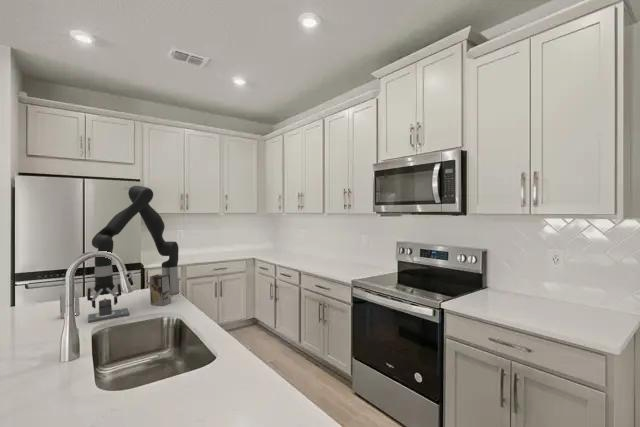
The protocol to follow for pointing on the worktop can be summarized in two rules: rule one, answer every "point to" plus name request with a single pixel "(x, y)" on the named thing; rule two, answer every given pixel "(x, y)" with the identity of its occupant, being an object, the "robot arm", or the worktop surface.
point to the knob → (105, 307)
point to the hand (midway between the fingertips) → (105, 306)
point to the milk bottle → (62, 301)
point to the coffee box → (160, 290)
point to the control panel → (114, 314)
